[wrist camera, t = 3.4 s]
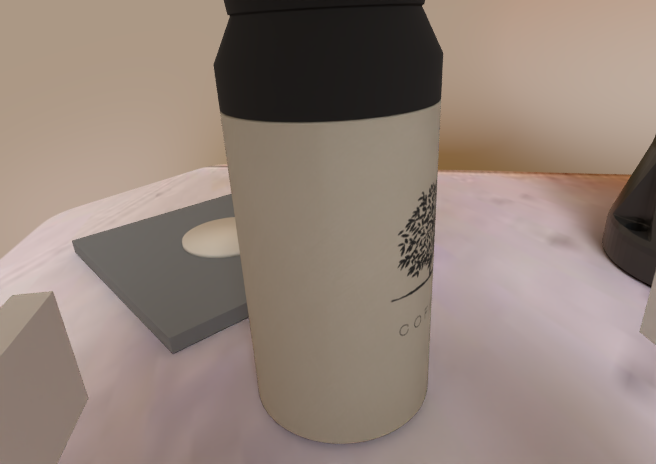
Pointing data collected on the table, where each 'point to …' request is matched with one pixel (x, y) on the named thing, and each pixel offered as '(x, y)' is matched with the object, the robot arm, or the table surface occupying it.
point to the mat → (175, 270)
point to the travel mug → (334, 205)
